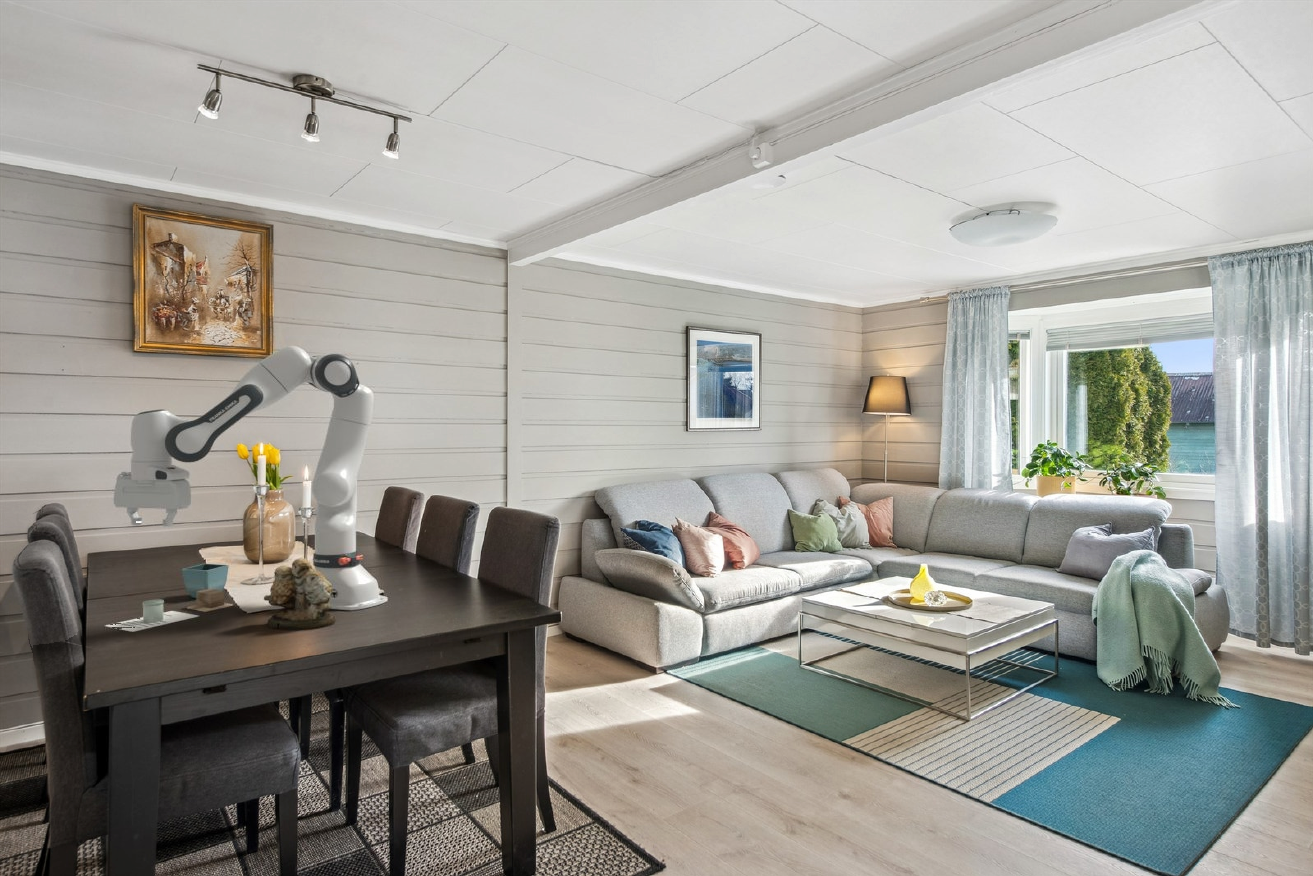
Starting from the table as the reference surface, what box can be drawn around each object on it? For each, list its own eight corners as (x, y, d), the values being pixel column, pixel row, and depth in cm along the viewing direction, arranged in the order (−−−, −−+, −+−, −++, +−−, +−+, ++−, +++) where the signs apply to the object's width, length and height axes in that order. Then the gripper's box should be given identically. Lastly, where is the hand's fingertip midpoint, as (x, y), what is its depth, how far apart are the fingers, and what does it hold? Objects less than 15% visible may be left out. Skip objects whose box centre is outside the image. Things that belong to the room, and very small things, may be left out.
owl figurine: (252, 629, 191) (252, 562, 191) (278, 618, 203) (277, 554, 202) (322, 630, 190) (322, 562, 190) (344, 618, 202) (343, 554, 202)
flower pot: (207, 601, 220) (206, 570, 220) (181, 599, 222) (180, 568, 222) (229, 594, 229) (229, 564, 229) (204, 592, 231) (204, 563, 230)
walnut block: (224, 605, 213) (223, 591, 213) (210, 608, 209) (210, 594, 209) (210, 603, 215) (210, 588, 215) (196, 606, 212) (196, 591, 212)
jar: (166, 620, 198) (166, 601, 197) (146, 624, 194) (145, 604, 194) (160, 617, 201) (160, 598, 200) (140, 620, 197) (139, 601, 197)
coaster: (233, 606, 214) (233, 604, 214) (205, 612, 207) (205, 610, 207) (214, 603, 218) (214, 601, 218) (187, 609, 210) (187, 607, 210)
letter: (199, 617, 202) (199, 615, 202) (132, 633, 187) (132, 631, 187) (172, 611, 208) (172, 610, 208) (104, 626, 192) (104, 625, 192)
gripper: (106, 472, 195) (107, 526, 196) (175, 473, 192) (176, 528, 192) (127, 470, 201) (128, 522, 202) (195, 472, 198) (195, 525, 198)
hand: (152, 525), depth 197 cm, fingers open, 8 cm apart
